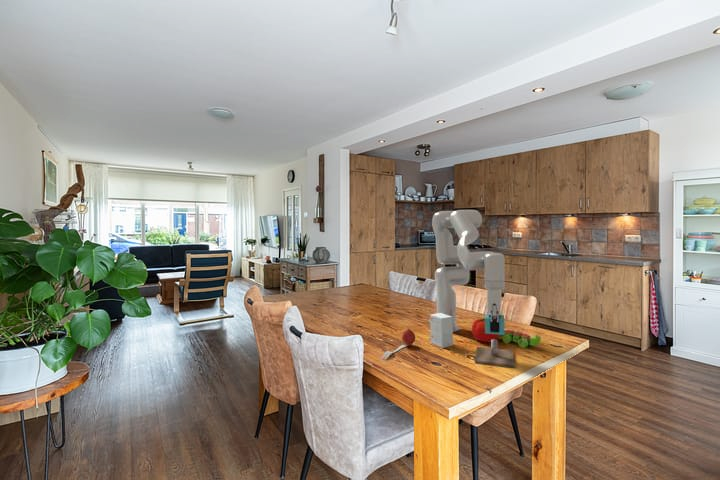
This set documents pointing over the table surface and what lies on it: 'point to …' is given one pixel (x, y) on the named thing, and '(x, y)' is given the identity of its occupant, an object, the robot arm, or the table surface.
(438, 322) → the small box
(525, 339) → the toy crocodile
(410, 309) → the table surface
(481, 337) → the tomato
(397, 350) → the fork
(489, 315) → the bead
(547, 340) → the table surface
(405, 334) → the onion
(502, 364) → the post board
